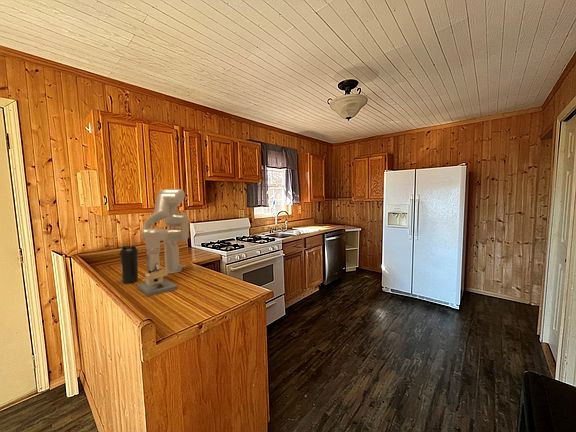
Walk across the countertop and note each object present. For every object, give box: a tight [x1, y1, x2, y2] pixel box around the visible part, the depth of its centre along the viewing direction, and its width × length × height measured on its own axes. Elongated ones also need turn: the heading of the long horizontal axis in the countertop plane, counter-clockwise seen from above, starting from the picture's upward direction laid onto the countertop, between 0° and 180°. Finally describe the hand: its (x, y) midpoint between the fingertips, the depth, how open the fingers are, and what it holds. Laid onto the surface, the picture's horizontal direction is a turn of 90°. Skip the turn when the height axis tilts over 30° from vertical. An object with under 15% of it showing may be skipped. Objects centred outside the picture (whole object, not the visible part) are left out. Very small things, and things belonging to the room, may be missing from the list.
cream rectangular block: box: [144, 272, 164, 286], centre depth 154 cm, size 8×6×6 cm
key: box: [141, 268, 169, 287], centre depth 145 cm, size 2×14×9 cm, turn 151°
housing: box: [137, 278, 179, 297], centre depth 151 cm, size 16×20×2 cm
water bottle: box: [118, 245, 139, 285], centre depth 164 cm, size 10×10×23 cm
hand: (154, 279), depth 154 cm, fingers open, 9 cm apart
